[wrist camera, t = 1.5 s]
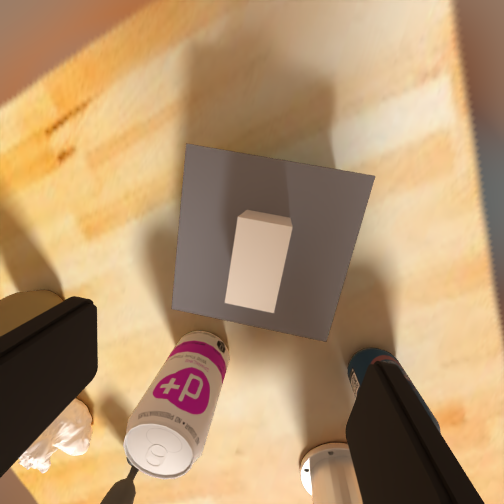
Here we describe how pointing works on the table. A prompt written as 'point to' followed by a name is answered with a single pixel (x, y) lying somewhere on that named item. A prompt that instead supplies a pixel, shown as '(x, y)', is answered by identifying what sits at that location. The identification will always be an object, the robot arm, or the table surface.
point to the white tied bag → (61, 437)
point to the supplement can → (178, 408)
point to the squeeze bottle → (24, 307)
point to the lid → (265, 240)
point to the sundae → (122, 489)
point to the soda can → (370, 356)
